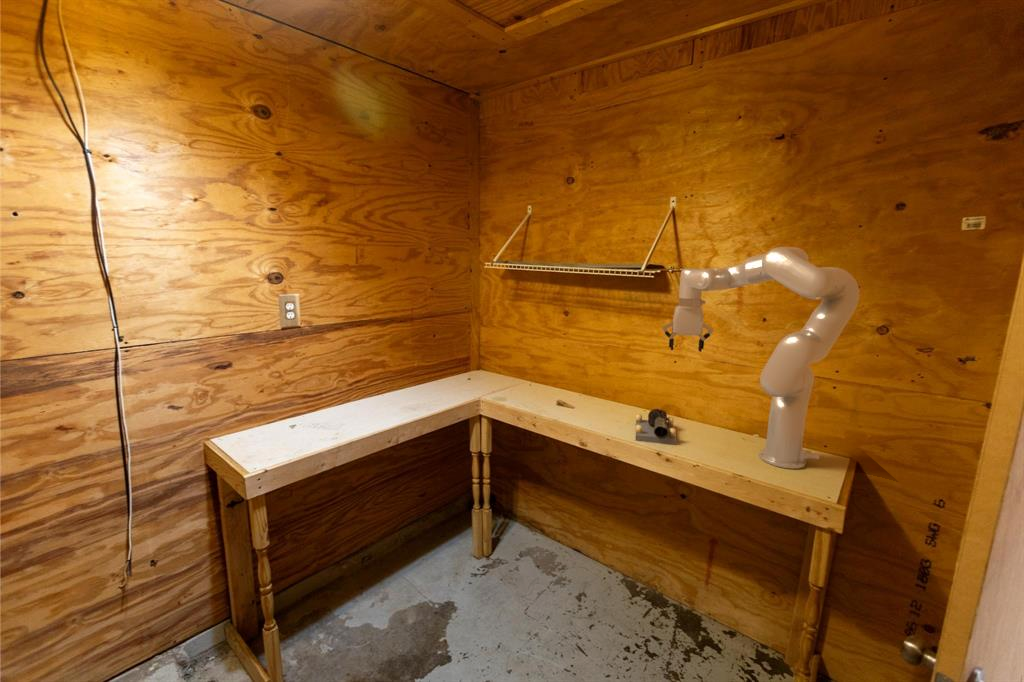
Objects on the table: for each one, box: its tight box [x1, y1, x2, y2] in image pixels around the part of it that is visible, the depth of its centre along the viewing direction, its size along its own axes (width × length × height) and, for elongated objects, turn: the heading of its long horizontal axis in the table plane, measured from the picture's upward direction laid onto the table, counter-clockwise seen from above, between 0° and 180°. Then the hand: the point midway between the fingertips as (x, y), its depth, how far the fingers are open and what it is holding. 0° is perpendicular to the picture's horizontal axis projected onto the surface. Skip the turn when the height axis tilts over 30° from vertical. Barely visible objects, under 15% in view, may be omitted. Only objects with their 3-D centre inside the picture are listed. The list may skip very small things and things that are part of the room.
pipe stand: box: [635, 413, 677, 446], centre depth 162 cm, size 13×16×4 cm
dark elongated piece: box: [647, 408, 669, 439], centre depth 161 cm, size 18×7×6 cm, turn 164°
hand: (685, 350), depth 167 cm, fingers open, 9 cm apart
